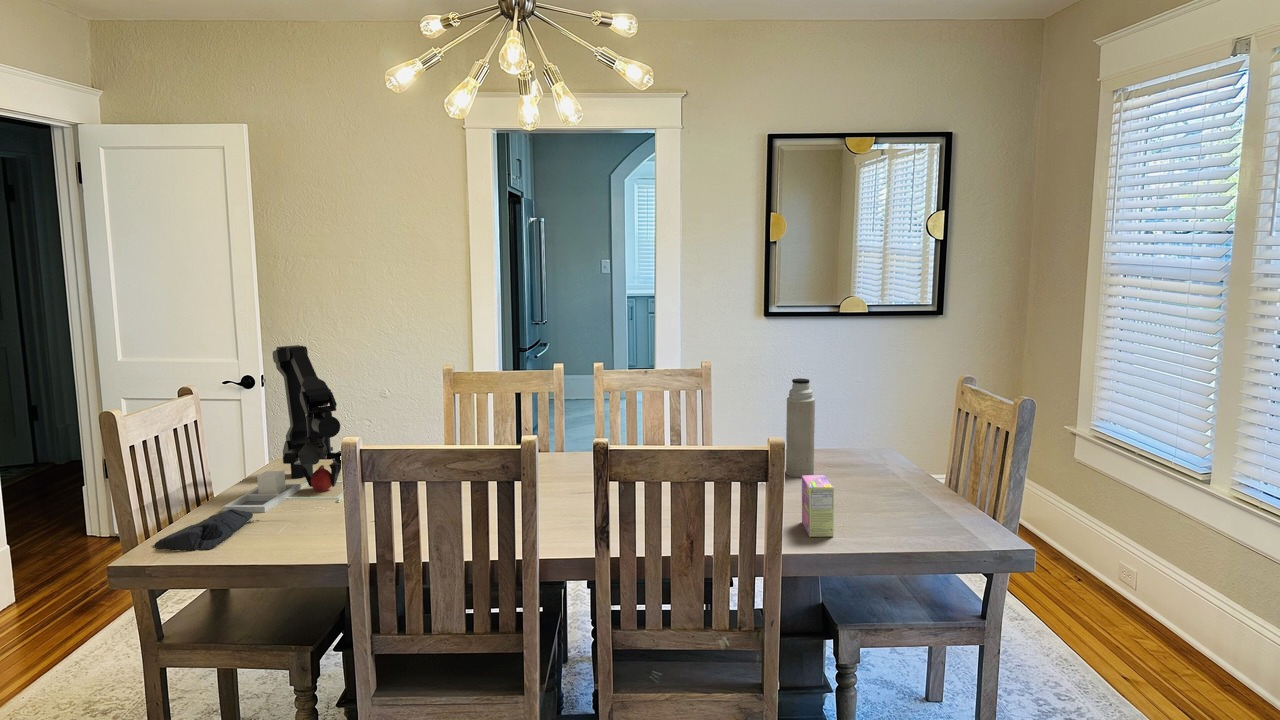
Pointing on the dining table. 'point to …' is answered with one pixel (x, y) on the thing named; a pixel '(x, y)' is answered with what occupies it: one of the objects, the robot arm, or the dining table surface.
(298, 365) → the robot arm
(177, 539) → the dark folded cloth
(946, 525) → the dining table surface
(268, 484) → the cream block
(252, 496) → the grey divided tray
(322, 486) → the onion
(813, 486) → the box
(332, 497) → the pale green square frame
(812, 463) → the thermos bottle
